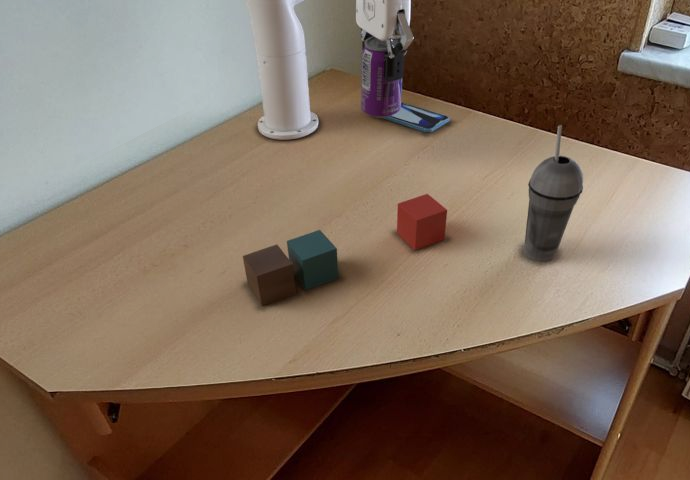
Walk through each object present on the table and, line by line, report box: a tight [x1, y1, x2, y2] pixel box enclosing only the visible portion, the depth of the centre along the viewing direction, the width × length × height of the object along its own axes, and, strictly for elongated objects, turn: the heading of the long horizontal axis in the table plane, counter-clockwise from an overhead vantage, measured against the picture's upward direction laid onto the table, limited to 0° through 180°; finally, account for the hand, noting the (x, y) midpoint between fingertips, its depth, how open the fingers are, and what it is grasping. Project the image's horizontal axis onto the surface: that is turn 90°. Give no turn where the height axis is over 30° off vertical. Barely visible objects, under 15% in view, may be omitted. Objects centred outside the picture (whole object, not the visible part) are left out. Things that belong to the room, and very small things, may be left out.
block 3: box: [396, 193, 448, 251], centre depth 97 cm, size 6×6×6 cm
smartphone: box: [383, 101, 450, 133], centre depth 127 cm, size 7×1×15 cm
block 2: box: [286, 229, 339, 291], centre depth 92 cm, size 6×6×6 cm
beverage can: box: [360, 36, 403, 119], centre depth 107 cm, size 7×7×12 cm
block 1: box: [242, 244, 297, 307], centre depth 90 cm, size 6×6×6 cm
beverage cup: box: [523, 124, 584, 263], centre depth 87 cm, size 7×7×20 cm
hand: (382, 70), depth 106 cm, fingers closed on beverage can, 7 cm apart
